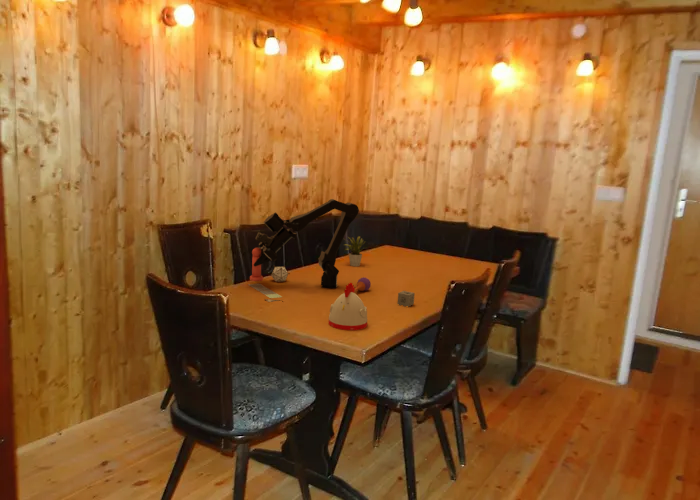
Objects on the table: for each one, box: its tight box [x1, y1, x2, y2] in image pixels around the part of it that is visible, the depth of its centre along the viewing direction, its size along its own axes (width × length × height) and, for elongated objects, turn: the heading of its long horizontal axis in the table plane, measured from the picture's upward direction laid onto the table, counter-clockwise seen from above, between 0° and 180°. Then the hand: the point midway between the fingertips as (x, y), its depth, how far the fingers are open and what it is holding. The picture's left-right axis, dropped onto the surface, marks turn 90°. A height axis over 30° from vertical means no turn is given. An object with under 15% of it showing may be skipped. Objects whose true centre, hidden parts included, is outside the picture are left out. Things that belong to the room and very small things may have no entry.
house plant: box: [343, 235, 368, 267], centre depth 304 cm, size 14×14×16 cm
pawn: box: [249, 247, 264, 282], centre depth 244 cm, size 6×6×14 cm
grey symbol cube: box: [397, 290, 416, 308], centre depth 232 cm, size 5×5×5 cm
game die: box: [269, 265, 291, 283], centre depth 256 cm, size 9×8×10 cm
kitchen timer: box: [328, 282, 368, 331], centre depth 201 cm, size 14×14×15 cm
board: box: [248, 283, 283, 303], centre depth 238 cm, size 27×9×1 cm, turn 32°
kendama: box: [354, 276, 372, 294], centre depth 245 cm, size 6×6×20 cm
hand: (253, 264), depth 243 cm, fingers closed on pawn, 4 cm apart
